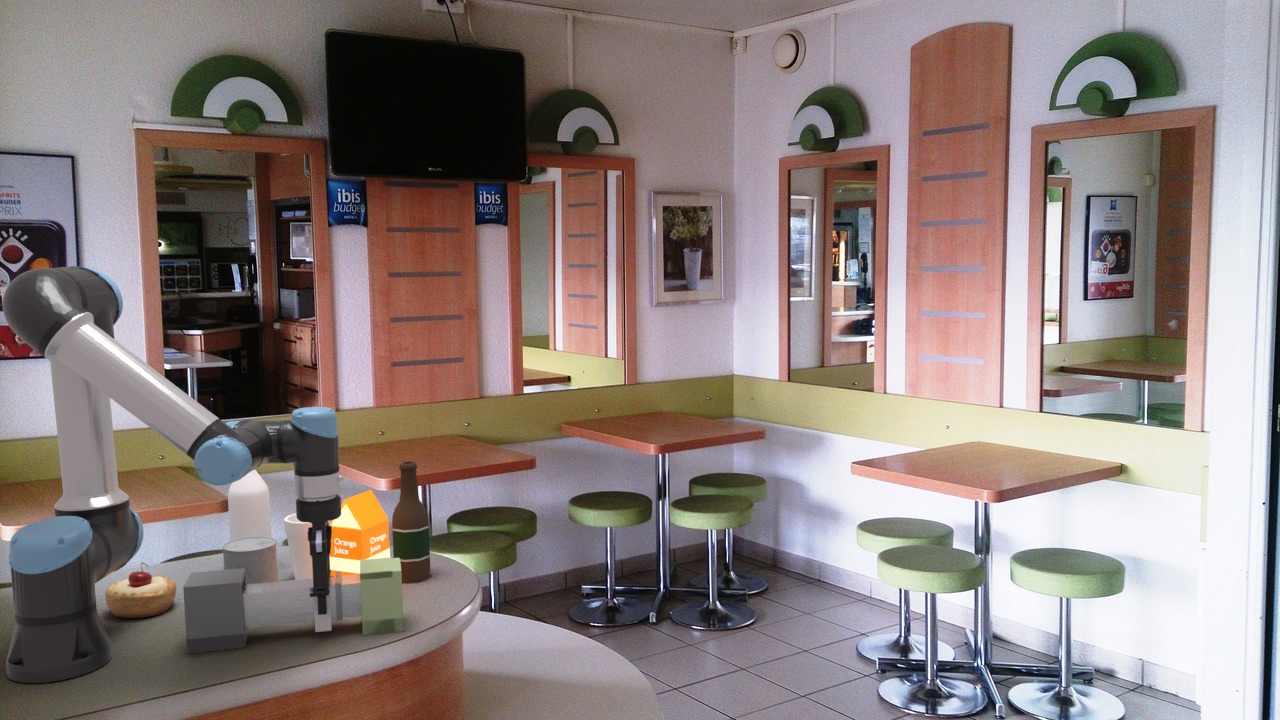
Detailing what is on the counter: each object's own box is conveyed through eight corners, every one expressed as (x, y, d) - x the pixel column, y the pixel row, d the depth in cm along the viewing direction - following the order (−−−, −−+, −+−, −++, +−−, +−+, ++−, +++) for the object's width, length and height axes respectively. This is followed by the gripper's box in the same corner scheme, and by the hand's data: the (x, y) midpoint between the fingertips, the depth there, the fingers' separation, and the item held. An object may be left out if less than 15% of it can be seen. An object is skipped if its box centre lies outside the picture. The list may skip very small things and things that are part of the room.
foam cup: (326, 586, 209) (323, 523, 208) (280, 586, 209) (277, 523, 208) (340, 571, 219) (338, 510, 217) (296, 571, 219) (293, 511, 217)
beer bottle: (401, 570, 219) (396, 458, 216) (436, 572, 218) (432, 458, 215) (387, 582, 211) (382, 466, 208) (424, 584, 210) (419, 466, 207)
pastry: (98, 625, 190) (95, 577, 189) (116, 603, 201) (113, 558, 200) (169, 619, 192) (166, 572, 191) (183, 598, 204) (180, 553, 203)
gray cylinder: (262, 617, 192) (258, 552, 191) (215, 614, 194) (211, 549, 193) (289, 599, 202) (286, 537, 200) (244, 597, 204) (241, 535, 202)
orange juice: (331, 599, 201) (326, 498, 199) (359, 585, 210) (355, 488, 207) (365, 604, 199) (360, 501, 196) (392, 590, 207) (388, 491, 204)
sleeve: (187, 653, 176) (183, 587, 174) (194, 636, 183) (190, 572, 182) (244, 647, 178) (240, 582, 177) (249, 631, 186) (245, 568, 184)
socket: (362, 635, 183) (360, 573, 182) (362, 619, 191) (359, 559, 189) (403, 631, 185) (401, 569, 183) (401, 615, 192) (399, 556, 191)
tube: (230, 631, 178) (228, 593, 177) (235, 616, 184) (233, 580, 184) (382, 615, 184) (380, 579, 183) (381, 602, 191) (380, 567, 190)
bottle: (226, 579, 215) (217, 435, 211) (240, 566, 223) (232, 427, 219) (265, 578, 215) (257, 434, 211) (278, 566, 223) (271, 427, 219)
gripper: (339, 507, 175) (345, 641, 177) (341, 483, 192) (346, 605, 195) (292, 510, 173) (298, 646, 175) (298, 485, 190) (304, 609, 193)
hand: (324, 624), depth 185 cm, fingers closed on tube, 5 cm apart
